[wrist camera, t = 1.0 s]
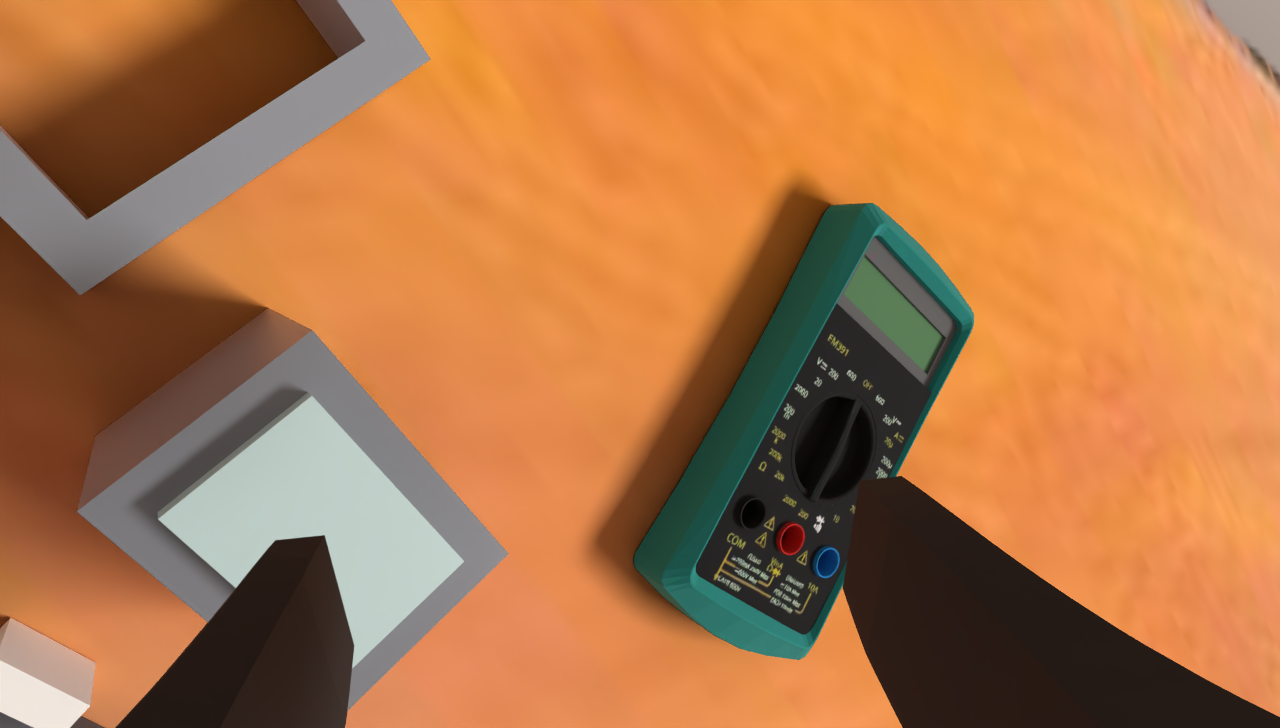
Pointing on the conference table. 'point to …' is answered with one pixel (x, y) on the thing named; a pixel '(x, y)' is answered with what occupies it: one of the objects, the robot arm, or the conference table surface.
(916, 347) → the digital multimeter
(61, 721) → the routed cable
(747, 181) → the conference table surface
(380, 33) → the frame
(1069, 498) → the conference table surface
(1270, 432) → the conference table surface
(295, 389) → the connector block
